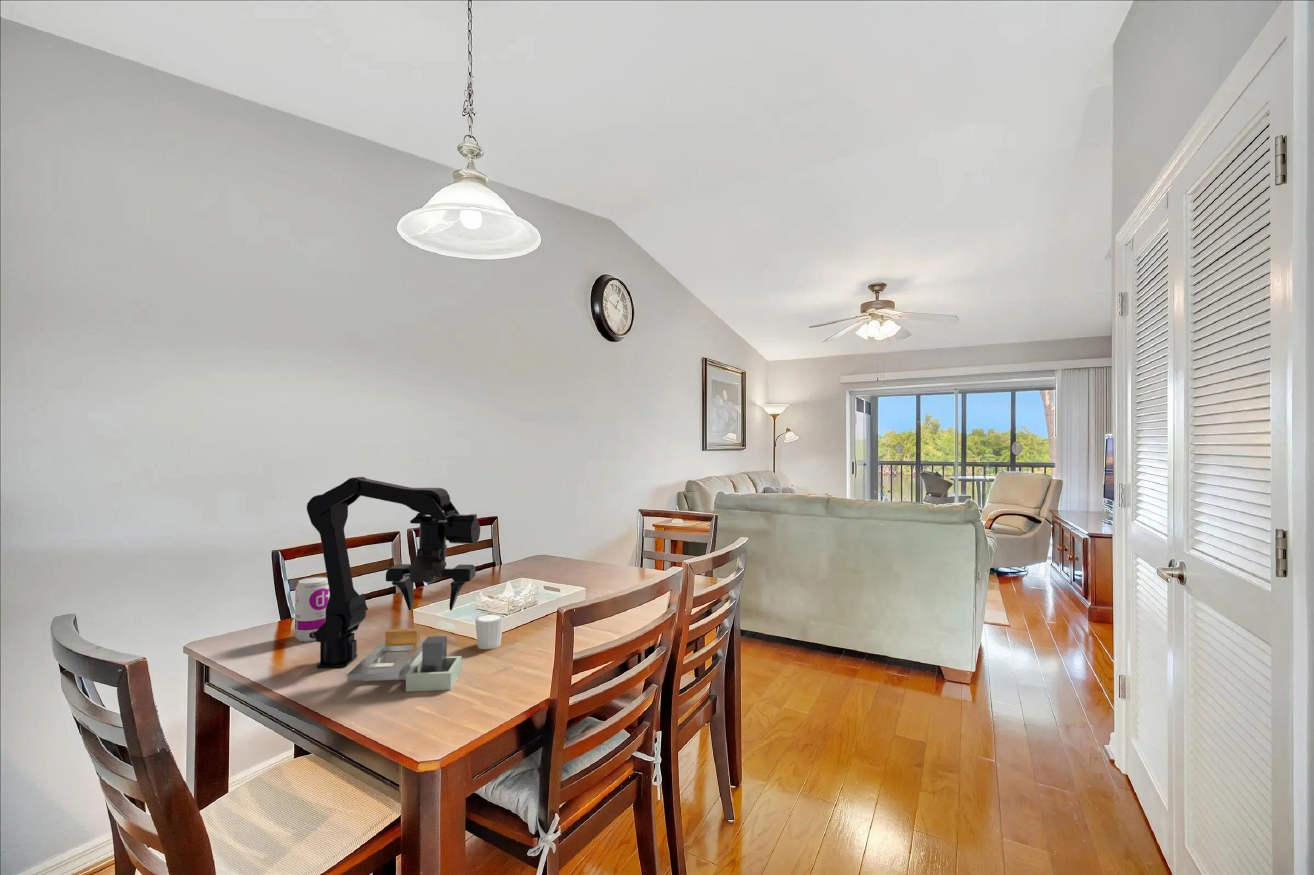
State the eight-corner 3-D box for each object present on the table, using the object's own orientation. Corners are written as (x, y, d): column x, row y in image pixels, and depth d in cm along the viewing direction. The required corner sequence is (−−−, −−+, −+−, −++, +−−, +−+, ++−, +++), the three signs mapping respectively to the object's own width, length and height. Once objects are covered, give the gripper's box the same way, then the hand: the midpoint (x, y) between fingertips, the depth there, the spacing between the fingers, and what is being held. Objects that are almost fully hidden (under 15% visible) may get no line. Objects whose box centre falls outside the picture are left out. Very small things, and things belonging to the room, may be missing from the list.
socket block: (380, 662, 128) (380, 649, 128) (424, 660, 130) (425, 648, 130) (362, 681, 119) (362, 667, 119) (410, 679, 120) (410, 665, 120)
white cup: (494, 651, 136) (495, 622, 136) (469, 649, 137) (469, 620, 137) (507, 641, 143) (508, 614, 143) (483, 639, 144) (483, 612, 144)
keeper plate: (382, 647, 129) (382, 629, 129) (426, 645, 130) (426, 627, 130) (347, 680, 111) (347, 659, 111) (398, 678, 112) (398, 657, 112)
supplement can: (337, 635, 146) (338, 578, 146) (304, 644, 139) (305, 585, 139) (322, 629, 150) (322, 574, 151) (288, 638, 144) (289, 581, 144)
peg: (417, 687, 116) (417, 644, 116) (425, 676, 121) (425, 635, 121) (444, 686, 116) (444, 643, 116) (450, 675, 122) (450, 634, 122)
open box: (405, 691, 114) (405, 674, 114) (419, 673, 123) (419, 657, 123) (450, 689, 115) (450, 673, 115) (461, 671, 124) (461, 656, 124)
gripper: (375, 549, 119) (374, 621, 119) (463, 550, 120) (462, 621, 120) (396, 539, 130) (394, 605, 130) (476, 540, 132) (475, 605, 131)
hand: (430, 609), depth 128 cm, fingers open, 9 cm apart
